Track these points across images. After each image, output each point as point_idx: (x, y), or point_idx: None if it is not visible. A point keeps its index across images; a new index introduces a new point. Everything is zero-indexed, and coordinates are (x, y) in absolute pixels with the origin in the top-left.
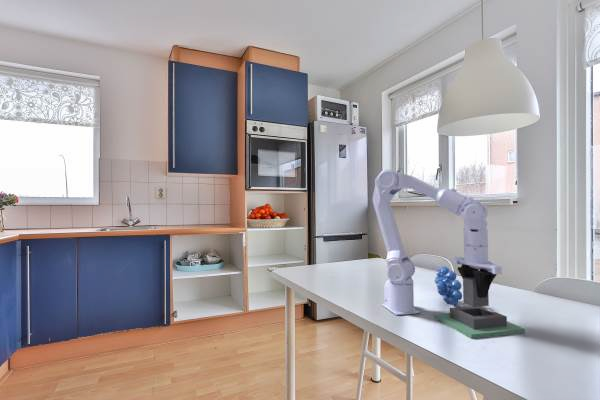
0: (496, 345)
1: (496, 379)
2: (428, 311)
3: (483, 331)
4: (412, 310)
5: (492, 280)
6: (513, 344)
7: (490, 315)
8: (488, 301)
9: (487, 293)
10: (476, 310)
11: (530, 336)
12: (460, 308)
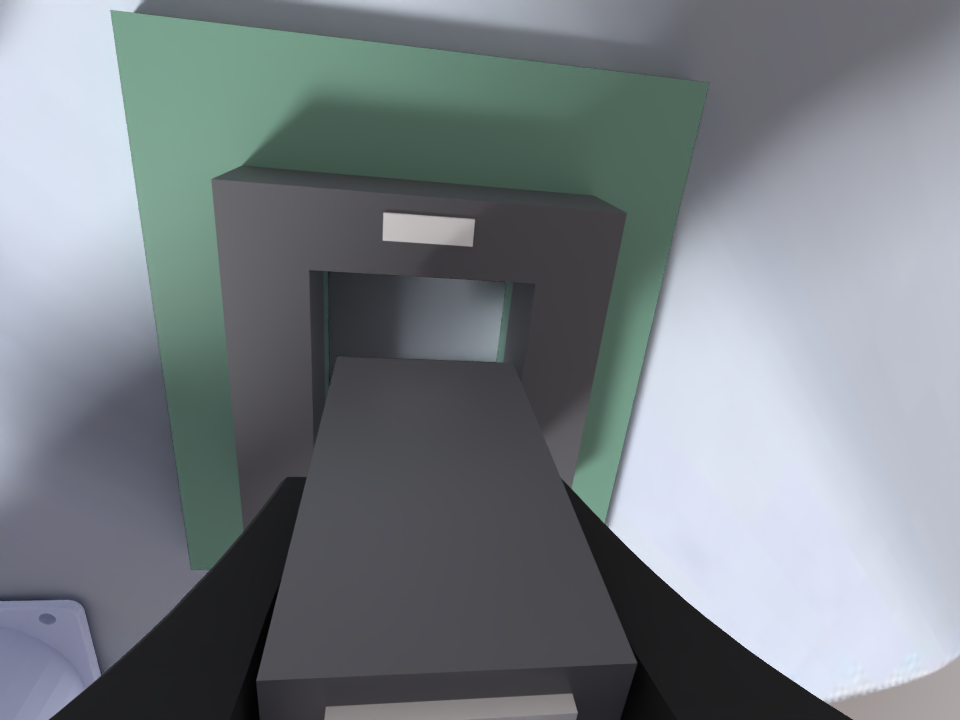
0: (710, 477)
1: (869, 673)
2: (16, 508)
3: (594, 465)
4: (53, 656)
5: (800, 695)
6: (754, 375)
7: (540, 350)
8: (524, 391)
9: (587, 511)
10: (312, 304)
11: (749, 117)
12: (278, 472)
